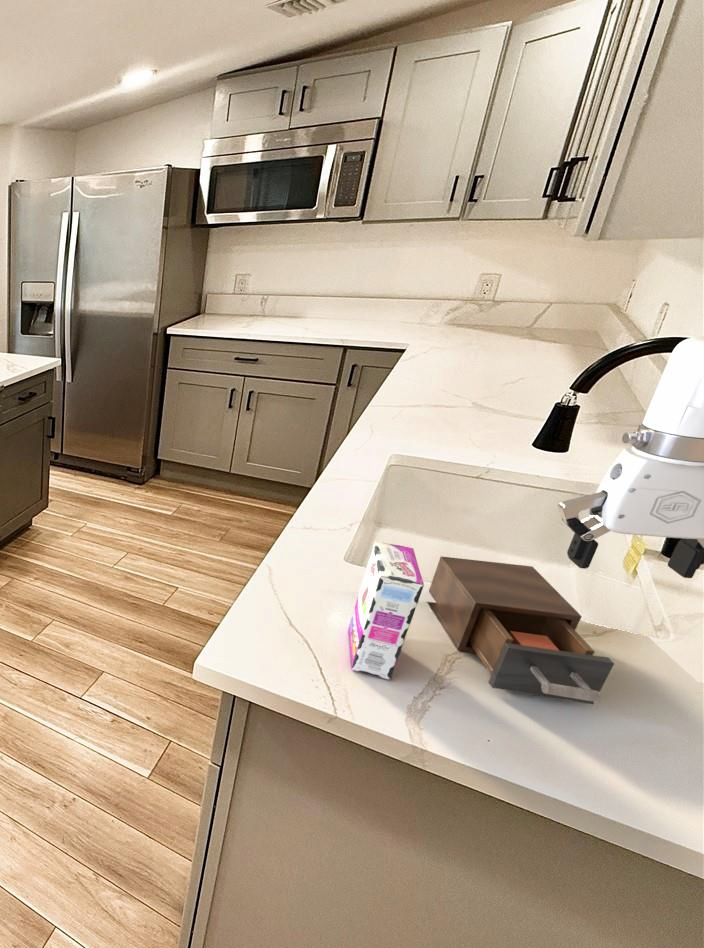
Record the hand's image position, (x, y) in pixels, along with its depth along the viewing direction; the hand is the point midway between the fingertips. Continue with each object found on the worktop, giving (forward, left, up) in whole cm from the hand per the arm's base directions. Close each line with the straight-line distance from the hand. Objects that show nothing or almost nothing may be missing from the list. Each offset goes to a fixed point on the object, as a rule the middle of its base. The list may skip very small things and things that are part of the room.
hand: (627, 567), depth 79 cm
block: (+7, +3, -15) cm, 17 cm away
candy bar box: (+25, +4, -18) cm, 31 cm away
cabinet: (+7, -8, -17) cm, 20 cm away
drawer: (+7, +4, -16) cm, 18 cm away
